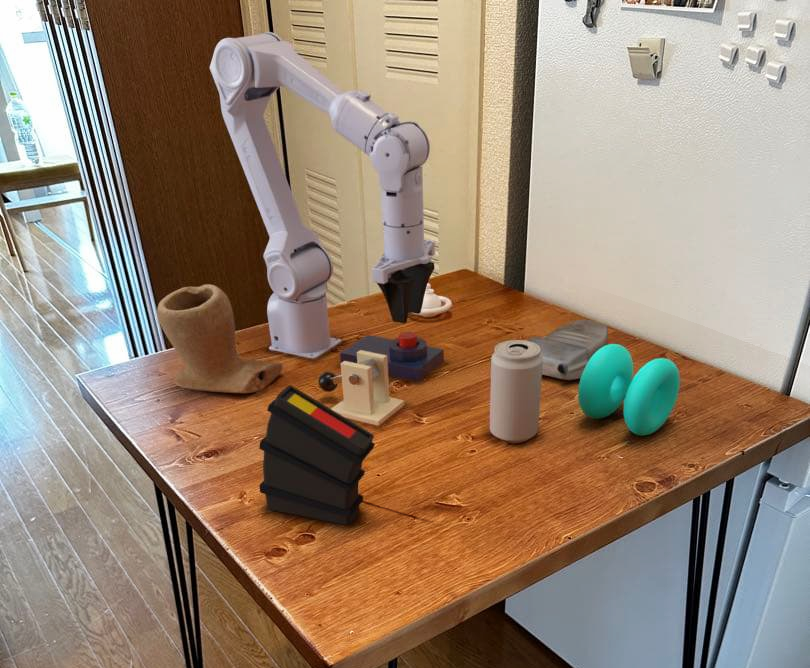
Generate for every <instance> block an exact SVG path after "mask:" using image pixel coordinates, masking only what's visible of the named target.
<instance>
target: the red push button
mask: <svg viewBox="0 0 810 668" xmlns="http://www.w3.org/2000/svg"><path fill="white" fill-rule="evenodd" d="M417 337H418V334H417V333H416V332H414V331H404V332H400V333H399V334H398V337H397V338H399V347H400V348H413V347H417Z"/></svg>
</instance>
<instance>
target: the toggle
mask: <svg viewBox="0 0 810 668" xmlns="http://www.w3.org/2000/svg"><path fill="white" fill-rule="evenodd" d="M357 364H362V365H366V366H371V367H372V380H373V379H375V378H376V377H377V376H379V375H380V373H379V371H378V369H377V366H376V364H375V361H374V359H370V360H366V361H363V362H359V363H357ZM339 384H342V375H341V373H339V374H335V373H333V372H332V371H325V372H323V373H321V375H320V376H319V377H318V386H319V388H320V389H321V390H322V391H323V392H325V393H326V392H327V393H331V392H334V391H335V390H336V389H337V387H338V386H339Z"/></svg>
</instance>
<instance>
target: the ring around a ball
mask: <svg viewBox="0 0 810 668" xmlns="http://www.w3.org/2000/svg"><path fill="white" fill-rule="evenodd" d="M431 287H432V285H431V283H429V282H428V284H427V287H426V291H425V295H424V300H423V305H422V309H421V313H419V314H416V313H412V315H413V314H414V315H416V316H422V317H424V318H433V317H436V316H438V315H440V314H444V313H446V312H448V311H449V310H451V308H452V306H453V302H452V300H451V299H450V298H448V297H446V296H442V295H438V294H436V293H434V292H435V290H434V289H433V288H431ZM442 304H444V305H442Z"/></svg>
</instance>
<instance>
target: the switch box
mask: <svg viewBox="0 0 810 668" xmlns="http://www.w3.org/2000/svg"><path fill="white" fill-rule="evenodd" d="M370 359H374V361H375V364H376V366H377V369H378V371H379V373H380V375H379V376H377V377H376V378H375V379H373V380H372V367H371V366H366V365H362V364H357V363H359V362H363V361H366V360H370ZM357 363H352V362H348V361H343V362H342V363H341V362H340V374H341V375H342V383H341V385H342V394H343V395H342V396H343V399H342V400H340V402H338V403H337V404H335V405H334V406H333V407H331V408H330V409H332V410H333V411H335V412H337V413H338V414H340V415H342V416H343V417H345V418H347V419H348V420H354V421H357V422H362V423H366V424H370V425H374V426H378V427H379V426H380V425H382V424H383V423H384V422H386V420H388V419H389V418H391V417H392V416H393V415H394V414H395V413H396V412H398V411H399V410H400V409H402V408H403V407H404V406H405V400H403V399H399V398H396V397H391V396H390V381H389V379H390V378H389V375H388V360H387V355H382V354H377V353H373V352H368V351H363V350H360V351H358V352H357Z"/></svg>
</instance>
